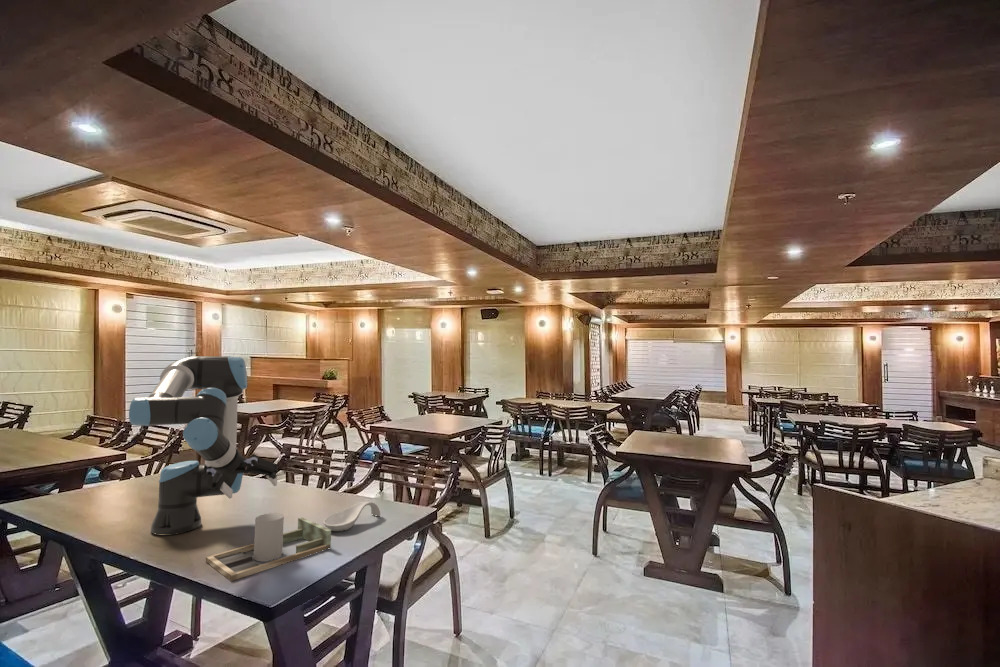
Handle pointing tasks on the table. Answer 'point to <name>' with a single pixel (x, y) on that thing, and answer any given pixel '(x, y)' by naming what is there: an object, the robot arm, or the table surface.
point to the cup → (268, 536)
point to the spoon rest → (348, 516)
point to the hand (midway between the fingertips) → (253, 488)
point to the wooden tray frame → (241, 565)
